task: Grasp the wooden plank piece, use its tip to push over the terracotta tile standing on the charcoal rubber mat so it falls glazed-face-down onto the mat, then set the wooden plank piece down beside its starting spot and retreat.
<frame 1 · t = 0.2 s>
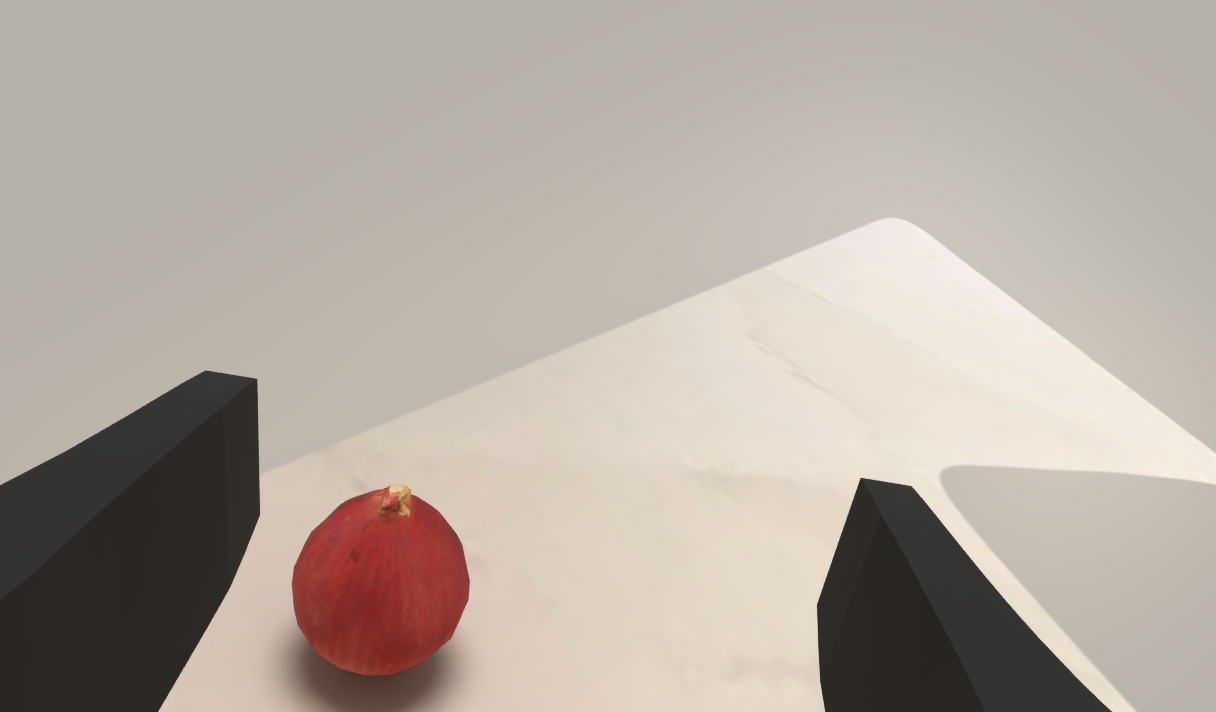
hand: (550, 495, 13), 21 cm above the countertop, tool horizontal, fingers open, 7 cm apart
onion: (370, 666, 37), on the countertop
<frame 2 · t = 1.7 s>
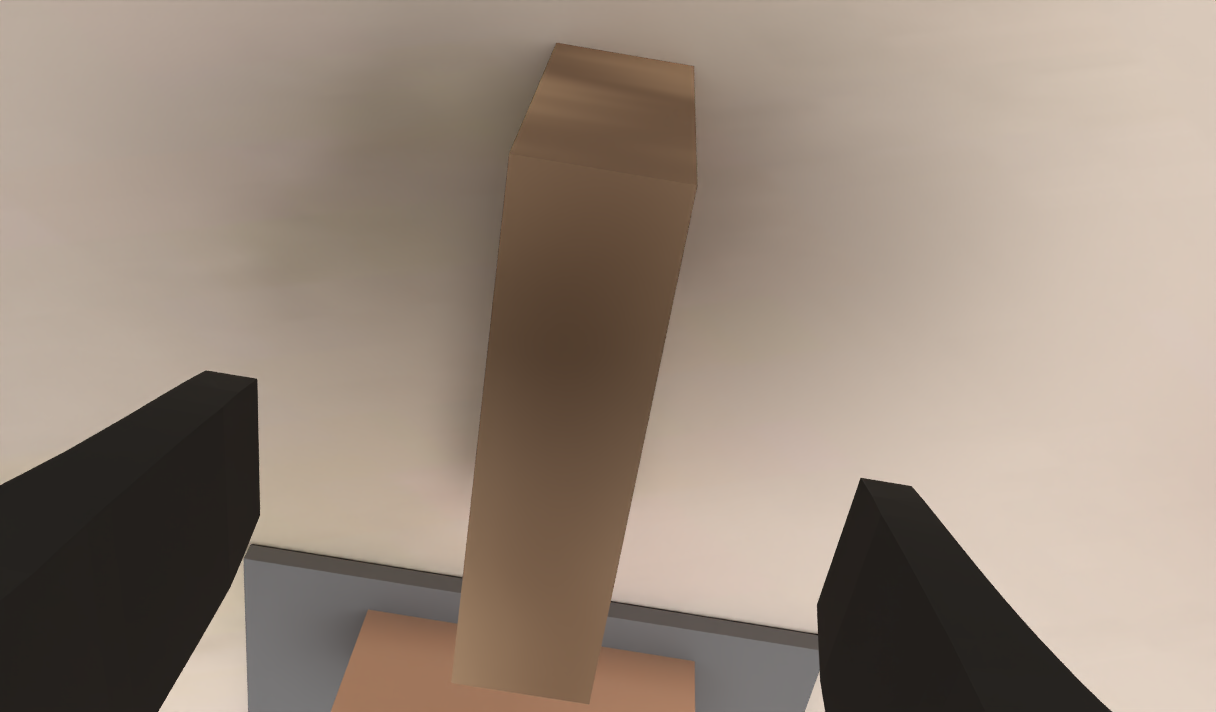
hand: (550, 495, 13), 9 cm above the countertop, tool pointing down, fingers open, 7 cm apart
tile: (527, 664, 26), resting on mat
wooden plank piece: (586, 296, 21), on the countertop
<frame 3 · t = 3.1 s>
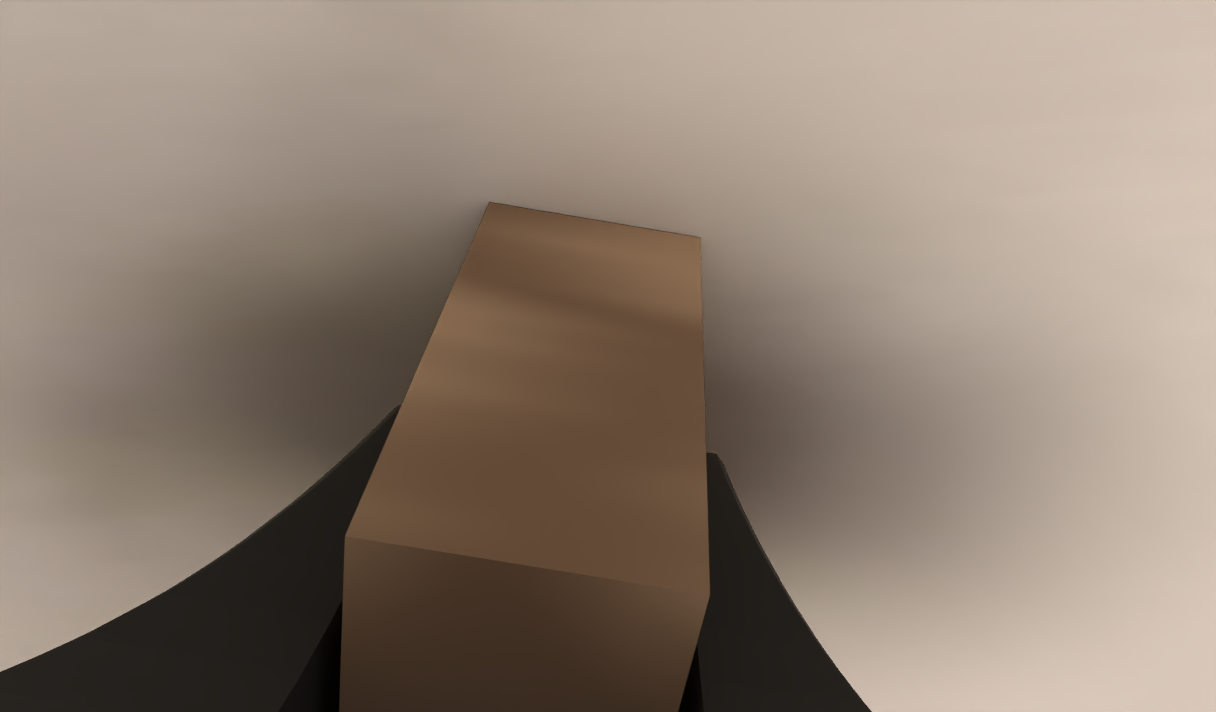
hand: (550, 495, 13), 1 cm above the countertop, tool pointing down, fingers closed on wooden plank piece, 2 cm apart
wooden plank piece: (543, 544, 15), on the countertop, touching gripper
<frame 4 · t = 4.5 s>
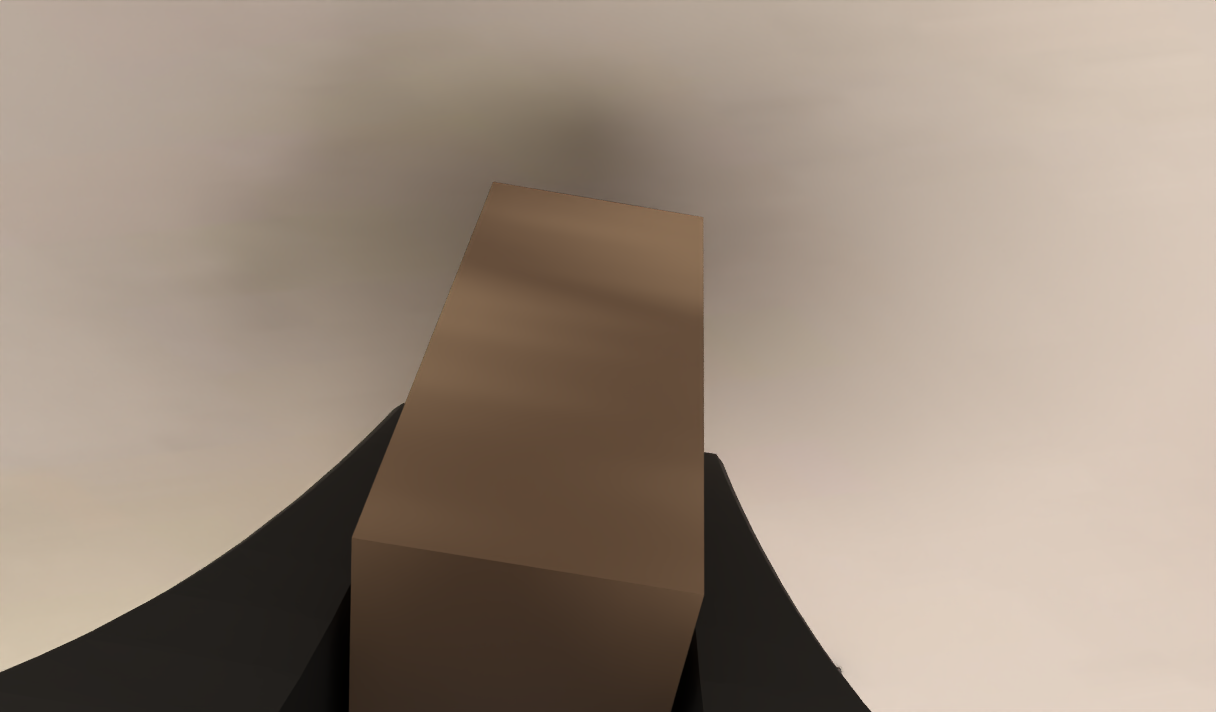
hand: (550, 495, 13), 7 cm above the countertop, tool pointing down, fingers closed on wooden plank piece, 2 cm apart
wooden plank piece: (549, 512, 15), point 5 cm above the countertop, touching gripper
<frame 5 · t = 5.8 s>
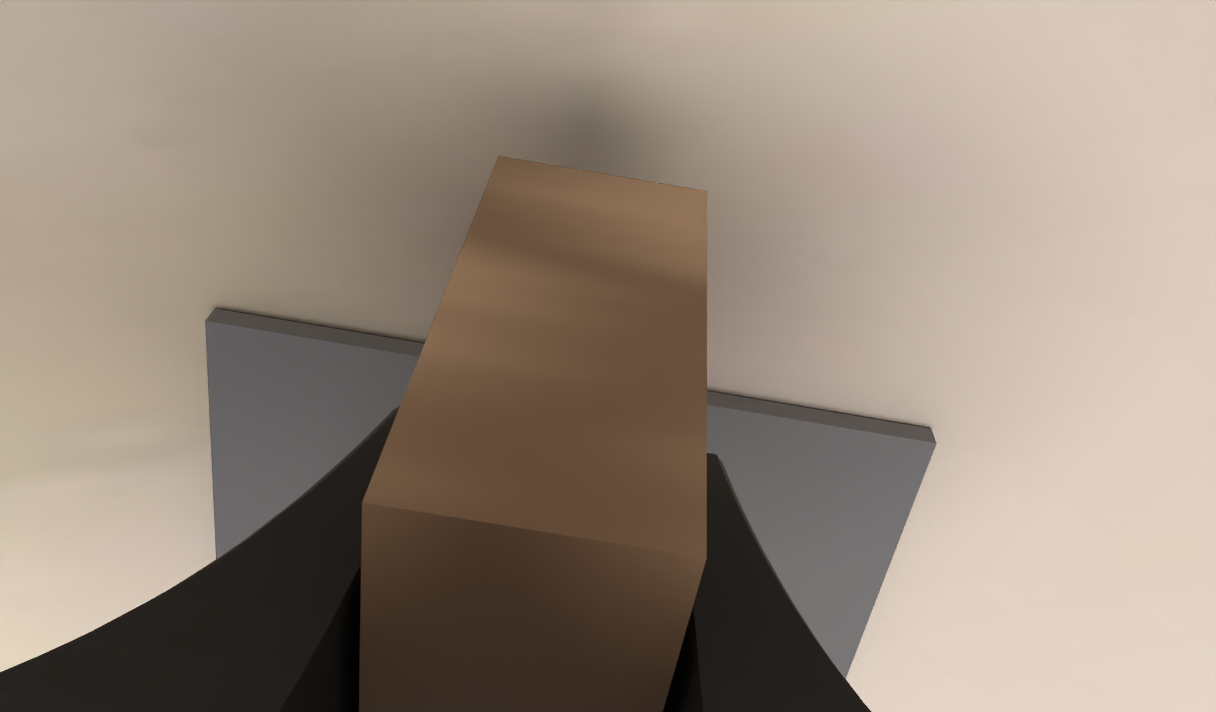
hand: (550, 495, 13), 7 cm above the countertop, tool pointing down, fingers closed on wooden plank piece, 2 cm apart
wooden plank piece: (553, 484, 15), point 5 cm above the countertop, touching gripper
mat: (533, 629, 24), on the countertop
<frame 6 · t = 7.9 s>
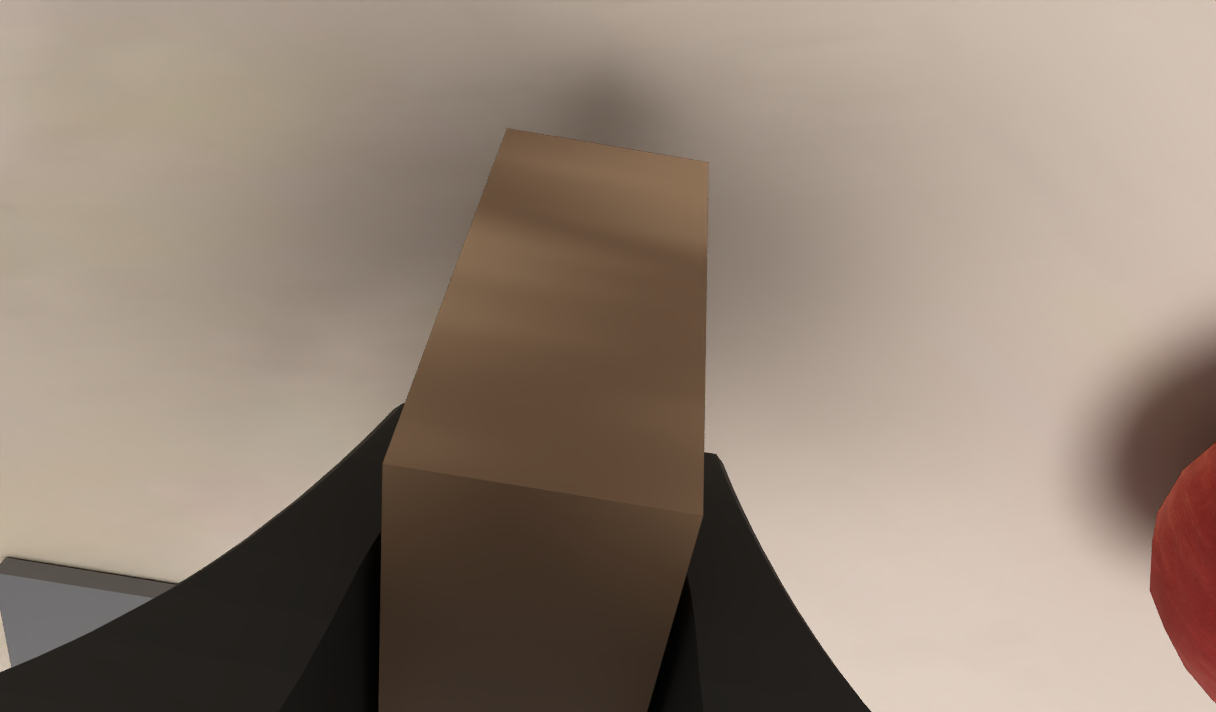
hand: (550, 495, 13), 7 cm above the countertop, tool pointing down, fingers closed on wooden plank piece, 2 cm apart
wooden plank piece: (560, 444, 16), point 4 cm above the countertop, tilted 7°, touching gripper
when the fingers open (2 cm above the countertop, at t = 9.0 s): wooden plank piece stays where it is, on the countertop.
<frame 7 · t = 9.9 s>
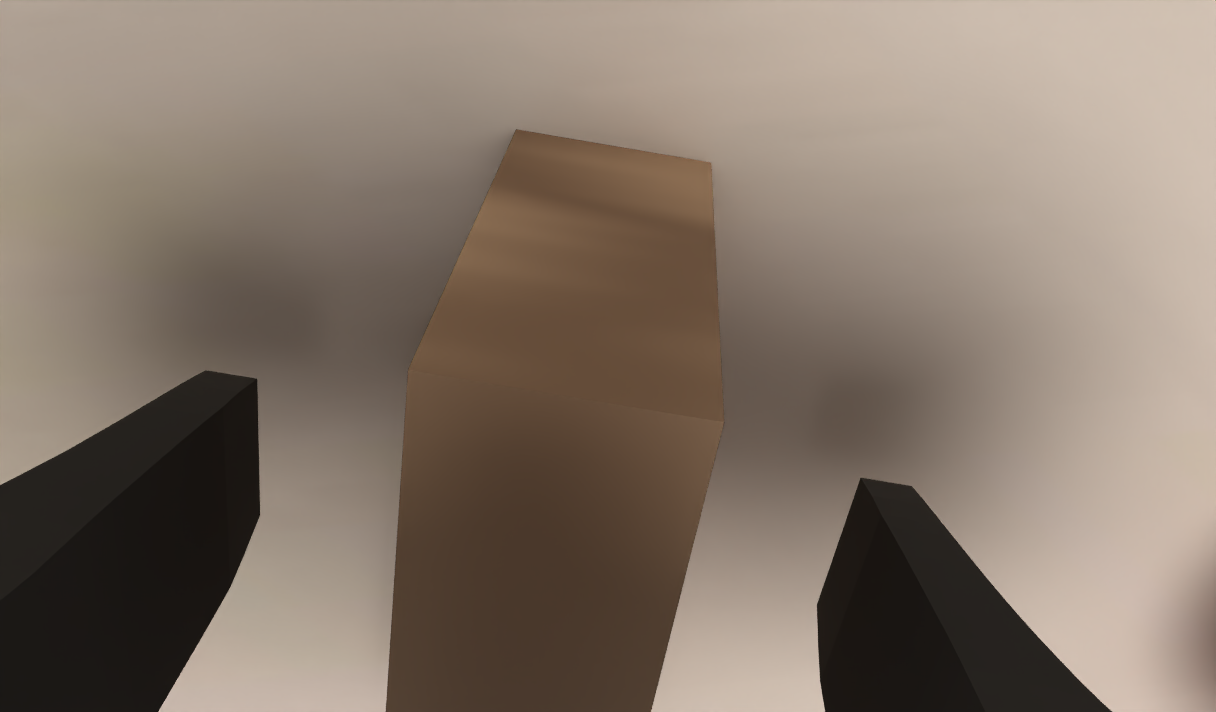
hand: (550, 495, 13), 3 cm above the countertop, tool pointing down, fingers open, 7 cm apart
wooden plank piece: (563, 457, 16), on the countertop
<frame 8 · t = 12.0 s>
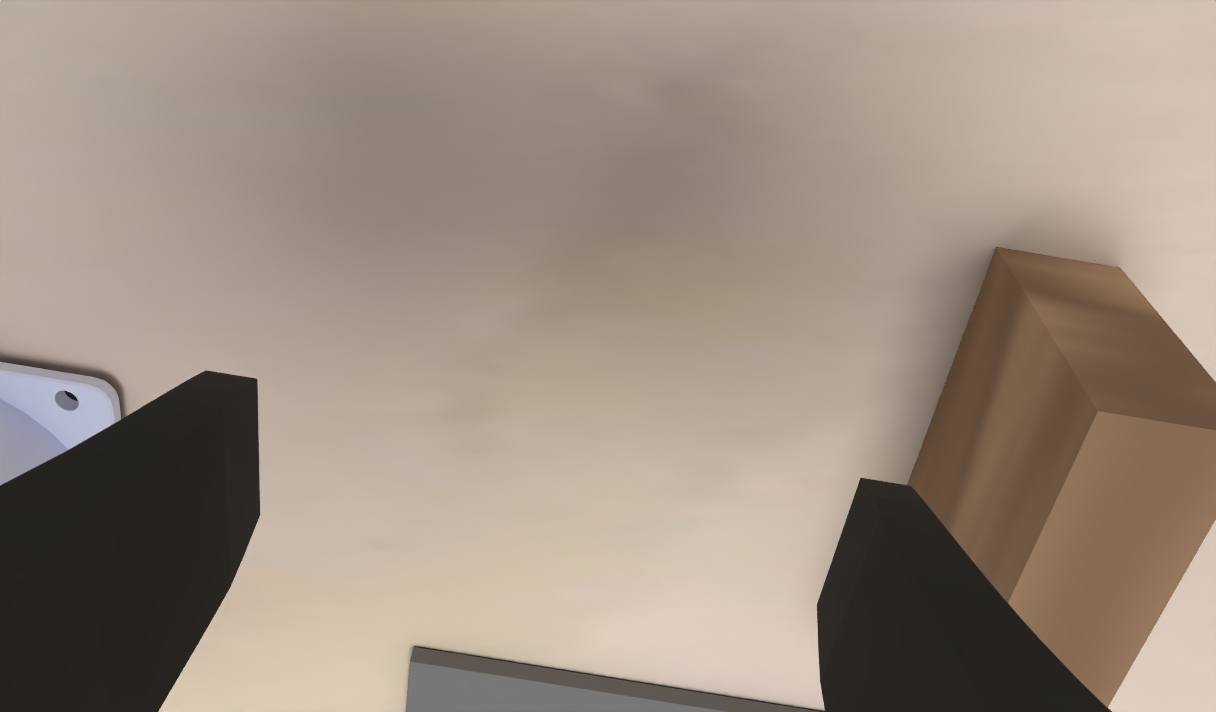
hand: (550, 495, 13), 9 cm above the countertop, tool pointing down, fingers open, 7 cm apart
wooden plank piece: (974, 458, 23), on the countertop
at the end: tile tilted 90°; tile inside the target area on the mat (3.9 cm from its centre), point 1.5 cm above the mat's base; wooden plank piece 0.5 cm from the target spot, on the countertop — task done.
